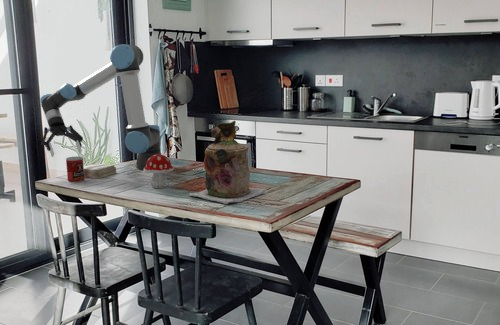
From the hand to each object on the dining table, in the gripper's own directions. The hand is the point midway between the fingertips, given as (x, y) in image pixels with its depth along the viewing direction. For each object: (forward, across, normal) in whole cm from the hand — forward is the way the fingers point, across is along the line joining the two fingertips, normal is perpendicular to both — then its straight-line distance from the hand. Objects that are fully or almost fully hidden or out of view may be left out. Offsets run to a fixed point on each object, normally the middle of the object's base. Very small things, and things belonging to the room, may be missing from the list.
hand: (67, 153), depth 262 cm
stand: (+10, -13, -7) cm, 18 cm away
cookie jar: (+64, -41, +48) cm, 90 cm away
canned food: (+14, -1, -3) cm, 15 cm away
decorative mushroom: (+42, -26, +25) cm, 55 cm away
